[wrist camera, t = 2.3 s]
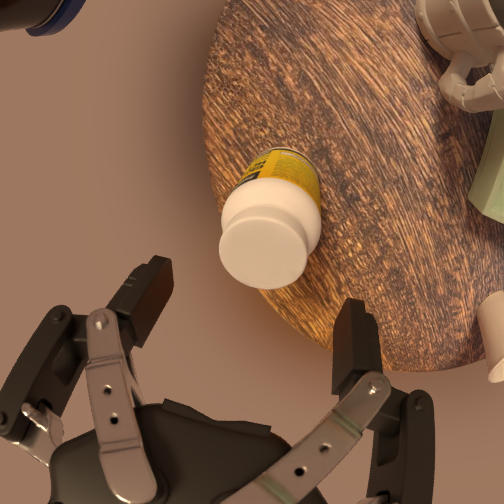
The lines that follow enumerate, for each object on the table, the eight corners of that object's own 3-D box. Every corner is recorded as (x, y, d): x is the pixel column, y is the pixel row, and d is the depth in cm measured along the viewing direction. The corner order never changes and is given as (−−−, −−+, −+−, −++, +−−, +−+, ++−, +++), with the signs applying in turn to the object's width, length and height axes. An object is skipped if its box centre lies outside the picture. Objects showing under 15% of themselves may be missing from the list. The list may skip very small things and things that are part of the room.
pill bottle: (264, 132, 21) (227, 180, 12) (332, 166, 21) (347, 238, 12) (237, 193, 24) (192, 271, 16) (298, 222, 25) (287, 313, 16)
